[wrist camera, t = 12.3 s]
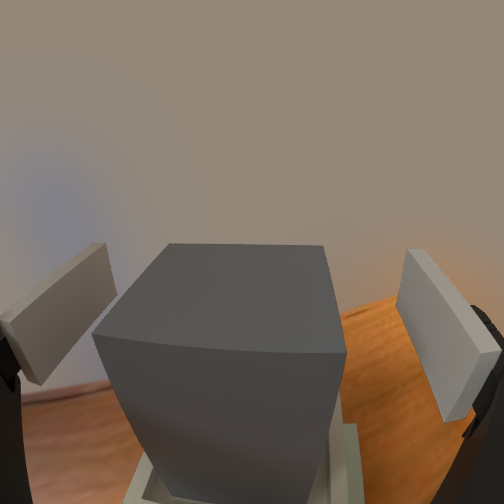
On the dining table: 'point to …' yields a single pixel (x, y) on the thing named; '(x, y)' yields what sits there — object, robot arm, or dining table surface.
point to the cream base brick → (320, 498)
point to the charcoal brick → (229, 368)
